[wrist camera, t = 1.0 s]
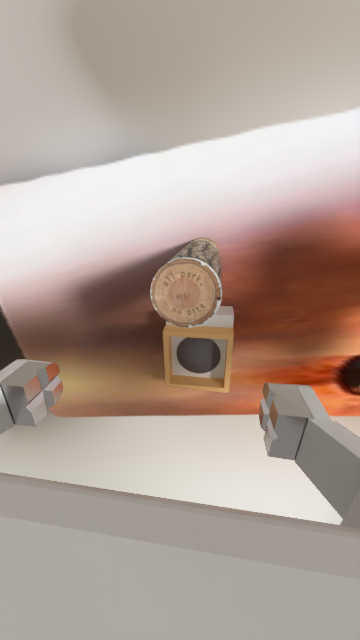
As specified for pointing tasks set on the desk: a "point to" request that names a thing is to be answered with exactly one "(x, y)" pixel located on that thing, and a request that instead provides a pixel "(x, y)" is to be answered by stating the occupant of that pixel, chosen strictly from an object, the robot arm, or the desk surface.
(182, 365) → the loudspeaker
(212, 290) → the paper tube
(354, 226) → the desk surface
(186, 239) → the desk surface
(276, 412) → the robot arm
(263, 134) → the desk surface
